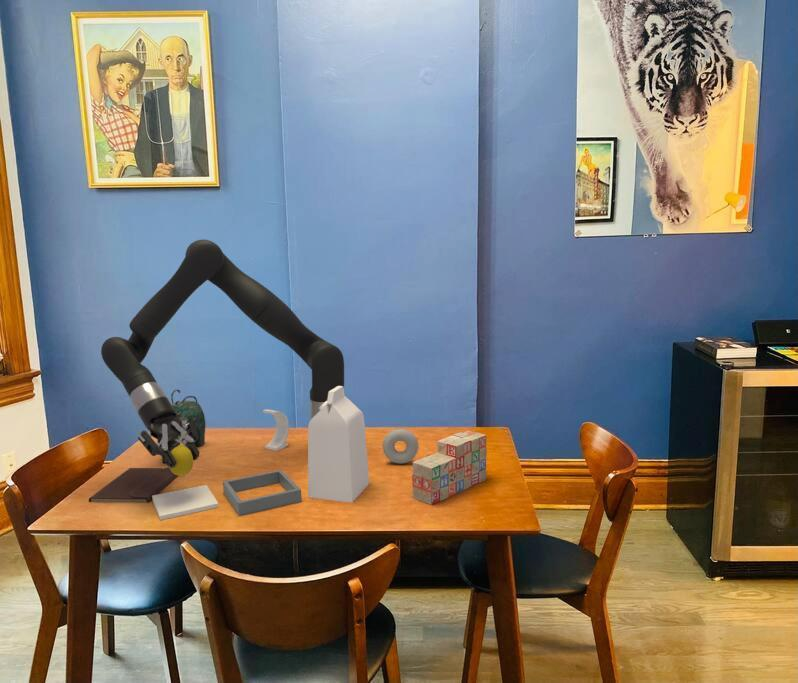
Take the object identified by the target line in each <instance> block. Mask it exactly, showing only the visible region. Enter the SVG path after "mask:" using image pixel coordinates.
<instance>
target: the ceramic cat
mask: <svg viewBox="0 0 798 683" xmlns="http://www.w3.org/2000/svg"><path fill="white" fill-rule="evenodd" d="M176 392H178V394H180V393H181V390H180V389H174V390H173V391H172V392H171V396H170V397H171V405H172V407H173V408H174V410H175V412H176V416H177V417H178V418H179V419H180V420H181V421H184V420H188V418H192V419H193V422H194V424H195V427H196V430H197V432H198V435H199V438H198V439H197V440H196V442H195V443H194V444H195V445H196V447H197V448H200V447H203V446H204V445H205V440H206V438H205V437H206V417H205V413H204V411H203V408H202V406H201V405H200V403H199V402H198V399H197V397H196V396H195V395H188V396H186V397H184V398H183V399H182V400H177V401H175V402H174V397H173V396H174V394H175V393H176ZM188 398H193V399H194V400H186V399H188ZM181 428H183V429H184V427H183V426H182V427H181ZM185 431H186V430H185ZM186 432H187V431H186ZM179 436H180V437H181V434H180V435H179ZM167 444H168V450H170V452H171V451H172V450H173V449H174V448H175V447H178V445H181V443H179V442H177V441H176V440H170V441H168V442H167ZM161 461H162V464H166V463H165V461H164V460H163V458H162V457H161Z"/></svg>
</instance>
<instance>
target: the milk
mask: <svg viewBox="0 0 798 683" xmlns="http://www.w3.org/2000/svg"><path fill="white" fill-rule="evenodd" d="M344 389H345V387H344V388H343V386H337V387H336V388H334V389H332V390H330V391H329V393H328V399H327V401H326V402H324V403H323V404H322V405H321V406H320V408H319V409H320V411H319V412H318V413H317V414H316V415H315V416H314V417H313V418H312V419H311V418H310V421H309V422H308V426H307V429H308V430H307V433H308V434H307V435H308V436H307V438H308V439H307V441H308V442H307V447H308V448H307V457H308V458H307V460H308V461H307V462H308V463H307V471H308V472H307V476H308V477H307V487H308V488H307V498H310V499H317V500H318V499H319V500H327V501H328V500H329V501H337V502H343V503H353V502H355V500H356V499H357V498H358V497H359V496H360V495H361V494H362V492H363V491H364V490H365V489H366V488H367V487H368V486H369V484H370V476H369V475H370V474H369V461H368V450H367V436H366V425H365V416H364V414H363V412H362V410H360V409H359V407H357V405H355V403H353V402H352V400H350V399H349V398H348V397H347V396H345V395H346V394H345V390H344Z"/></svg>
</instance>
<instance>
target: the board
mask: <svg viewBox="0 0 798 683" xmlns="http://www.w3.org/2000/svg"><path fill="white" fill-rule="evenodd" d="M151 501H152V502H153V506H154V507H155V510H156V513H157V515H158V518H159V521H163V520H167V519H172V518H177V517H181V516H182V517H183V516H186V515H190V514H195V513H200V512H204V511H205V512H206V511H209V510H214V509H219V507H220V506H219V502H218V501H217V499H216V497H215V496H214V494H213V493H212V491H211V489H210V488H209V486H208V484H204V485H198V486H193V487H189V488H184V489H179V490H174V491H169V492H163V493H159V494H158V495H153V496H152V500H151Z"/></svg>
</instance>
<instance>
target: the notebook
mask: <svg viewBox="0 0 798 683" xmlns="http://www.w3.org/2000/svg"><path fill="white" fill-rule="evenodd" d="M178 477H179V476H178V475H175V474H173V473H172V472H171V470H170V468H169V467H168V466H167V467H129V468H128V469H126V470H125V471H124V472H123V473H121V474H120V475H119V476H117V477H116V478H114V479H113V480H112V481H110V482H108V484H106V485H105V486H104V487H102V488H101V489H100V490H98V491H97V492H95V493H94V494H92V495H91V496H90V497H89V498H88V503H128V504H129V503H130V504H131V503H134V504H135V503H140V504H141V503H144V504H145V503H148V504H149V503H150V502H151V501H153V500H152V496H153V495H158V494H161V493H162V491H163V490H164V489H165V488H167V487H168V486H169V485H170V484H171V483H172V482H173V481H174V480H176V478H178Z"/></svg>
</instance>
